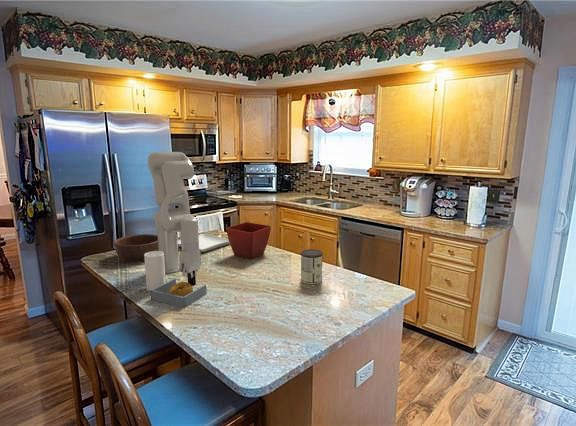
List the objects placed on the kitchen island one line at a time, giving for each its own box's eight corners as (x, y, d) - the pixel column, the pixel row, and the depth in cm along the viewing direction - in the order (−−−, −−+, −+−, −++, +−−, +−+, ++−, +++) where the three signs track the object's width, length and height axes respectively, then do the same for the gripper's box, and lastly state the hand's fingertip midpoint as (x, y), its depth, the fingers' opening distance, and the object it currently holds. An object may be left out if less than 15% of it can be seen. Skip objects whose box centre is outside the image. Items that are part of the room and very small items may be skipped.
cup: (169, 285, 169) (167, 252, 166) (157, 292, 162) (155, 257, 158) (154, 282, 172) (152, 250, 169) (142, 289, 164) (140, 255, 161)
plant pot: (252, 262, 202) (251, 232, 199) (225, 256, 212) (225, 228, 209) (271, 253, 218) (271, 225, 215) (246, 248, 228) (246, 221, 225)
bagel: (164, 294, 160) (163, 283, 159) (188, 288, 166) (188, 278, 165) (170, 302, 152) (170, 291, 151) (196, 296, 158) (196, 286, 157)
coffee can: (305, 275, 183) (305, 248, 181) (324, 278, 179) (325, 250, 176) (297, 282, 174) (297, 253, 171) (317, 285, 170) (318, 256, 167)
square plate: (202, 255, 214) (202, 249, 214) (171, 247, 229) (171, 241, 228) (233, 244, 237) (233, 238, 236) (203, 238, 251) (203, 232, 251)
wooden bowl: (170, 256, 211) (169, 239, 209) (128, 267, 193) (126, 248, 191) (148, 248, 227) (147, 231, 225) (107, 257, 209) (106, 239, 207)
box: (150, 299, 154) (150, 290, 153) (174, 286, 167) (174, 278, 167) (184, 307, 147) (183, 297, 146) (206, 293, 160) (206, 284, 160)
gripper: (193, 240, 169) (195, 278, 173) (171, 249, 156) (174, 289, 159) (207, 242, 166) (208, 280, 170) (186, 251, 153) (188, 292, 156)
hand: (192, 285), depth 165 cm, fingers closed
